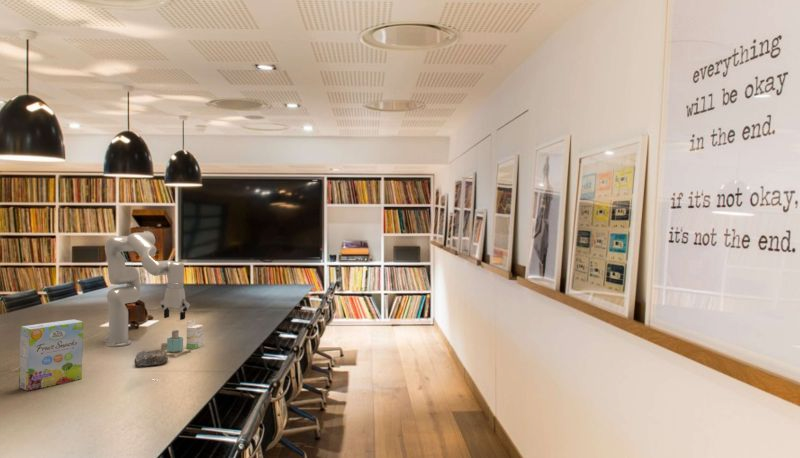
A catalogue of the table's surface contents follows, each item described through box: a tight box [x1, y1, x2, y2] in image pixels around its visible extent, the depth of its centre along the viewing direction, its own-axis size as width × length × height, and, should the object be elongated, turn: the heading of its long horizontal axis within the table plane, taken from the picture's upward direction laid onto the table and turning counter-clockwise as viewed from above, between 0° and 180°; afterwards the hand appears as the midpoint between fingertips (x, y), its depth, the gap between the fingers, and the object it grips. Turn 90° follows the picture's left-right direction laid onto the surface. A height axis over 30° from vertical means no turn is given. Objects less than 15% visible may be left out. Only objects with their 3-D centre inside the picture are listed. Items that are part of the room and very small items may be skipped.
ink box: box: [185, 319, 204, 350], centre depth 293 cm, size 9×5×15 cm, turn 168°
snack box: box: [18, 318, 84, 392], centre depth 227 cm, size 22×9×26 cm, turn 148°
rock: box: [134, 348, 169, 368], centre depth 260 cm, size 13×6×15 cm
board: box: [157, 329, 192, 358], centre depth 280 cm, size 16×12×12 cm
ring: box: [166, 336, 184, 352], centre depth 279 cm, size 7×7×6 cm
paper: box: [124, 377, 162, 395], centre depth 231 cm, size 25×17×1 cm
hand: (174, 318), depth 279 cm, fingers open, 9 cm apart
